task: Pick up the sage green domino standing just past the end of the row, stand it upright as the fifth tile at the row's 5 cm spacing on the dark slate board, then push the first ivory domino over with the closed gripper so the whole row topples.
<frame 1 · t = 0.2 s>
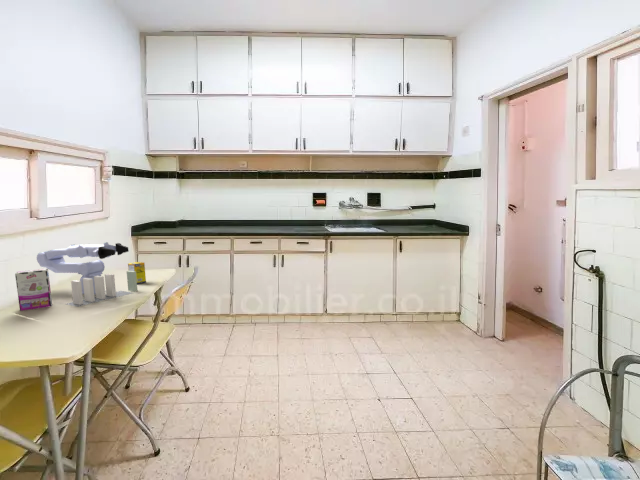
hand: (121, 250, 191), 21 cm above the table, tool horizontal, fingers open, 7 cm apart
sage domino: (132, 291, 202), on the table
ivory domino 3: (100, 298, 189), point 1 cm above the table, touching slate board
ivory domino 4: (111, 295, 193), point 1 cm above the table, touching slate board
ivory domino 1: (78, 303, 180), point 1 cm above the table, touching slate board
candy bar box: (36, 309, 177), on the table
ivory domino 2: (89, 300, 185), point 1 cm above the table, touching slate board
supplement box: (137, 283, 222), on the table
slate board: (100, 299, 189), on the table
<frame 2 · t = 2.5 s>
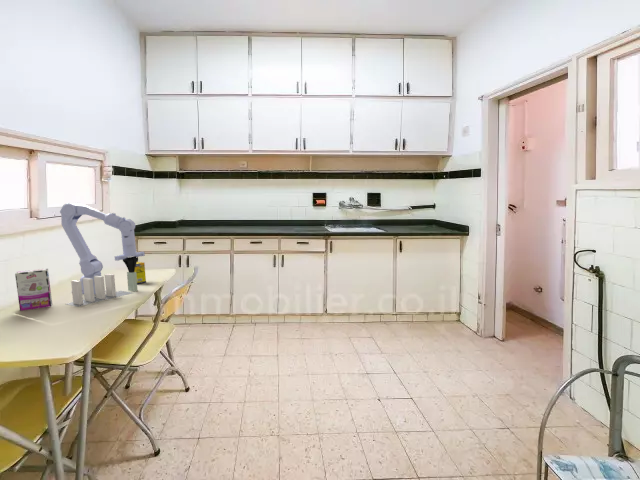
hand: (131, 272, 201), 9 cm above the table, tool pointing down, fingers closed, pressing on sage domino
sage domino: (133, 292, 202), on the table, touching gripper
everything else where it was.
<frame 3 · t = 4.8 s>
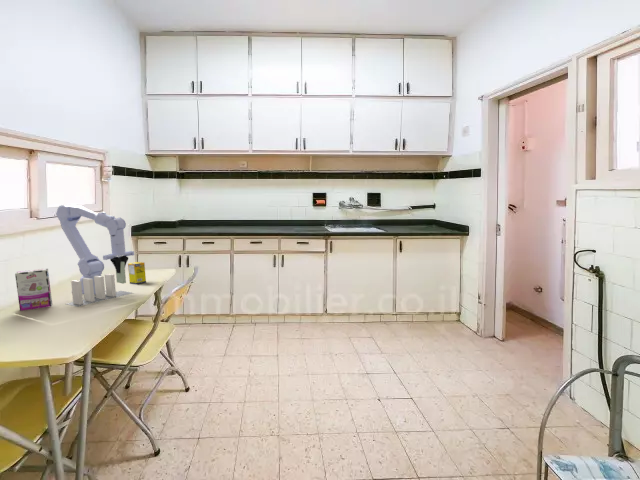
hand: (120, 272, 196), 10 cm above the table, tool pointing down, fingers closed on sage domino
sage domino: (121, 282, 197), point 6 cm above the table, touching gripper
everything else where it was.
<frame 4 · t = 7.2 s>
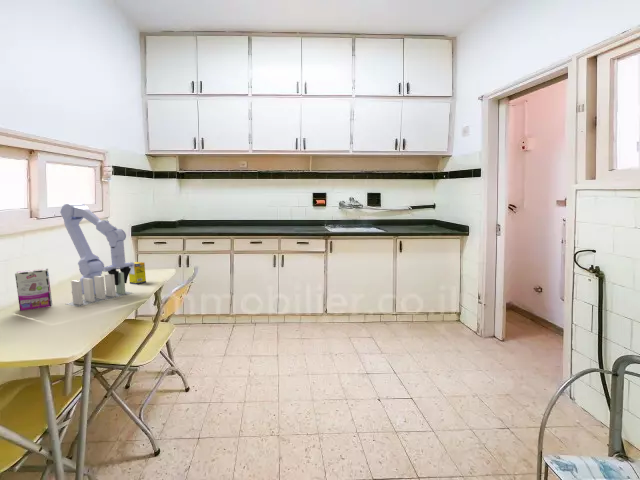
hand: (120, 284, 197), 5 cm above the table, tool pointing down, fingers open, 4 cm apart
sage domino: (120, 293, 197), point 1 cm above the table, touching slate board
everything else where it was.
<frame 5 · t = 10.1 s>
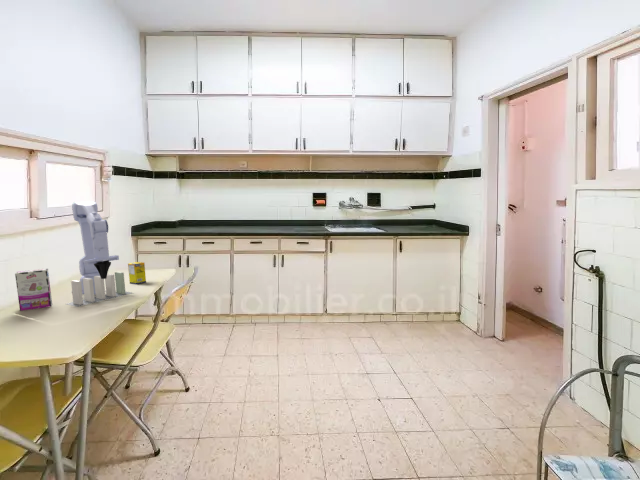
hand: (103, 278, 183), 10 cm above the table, tool pointing down, fingers closed
nothing on the table moved.
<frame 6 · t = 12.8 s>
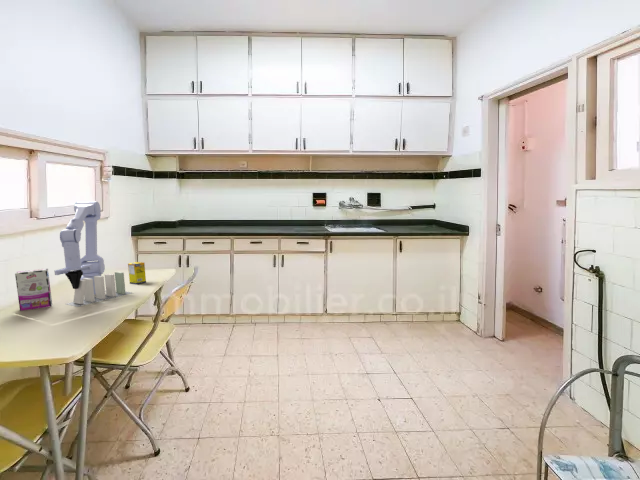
hand: (75, 288, 179), 7 cm above the table, tool pointing down, fingers closed
ivory domino 1: (78, 303, 180), point 1 cm above the table, tilted 12°, touching slate board
everything else where it was.
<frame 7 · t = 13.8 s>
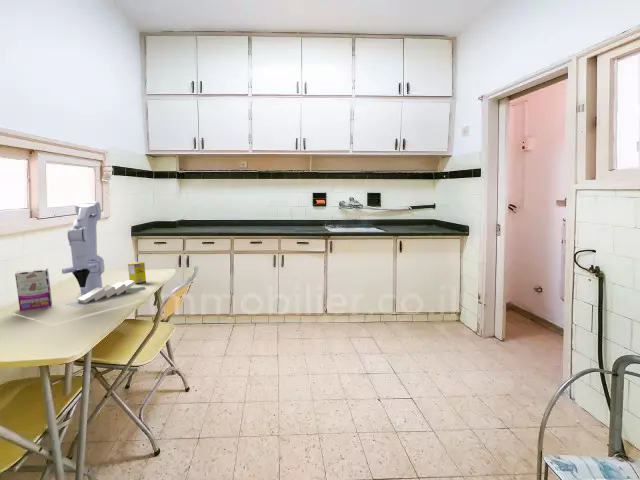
hand: (82, 286, 182), 7 cm above the table, tool pointing down, fingers closed
sage domino: (123, 290, 198), point 2 cm above the table, tilted 94°, touching ivory domino 4, slate board
ivory domino 3: (103, 295, 190), point 1 cm above the table, tilted 70°, touching ivory domino 2, ivory domino 4, slate board
ivory domino 4: (113, 293, 194), point 1 cm above the table, tilted 70°, touching ivory domino 3, sage domino
ivory domino 1: (80, 301, 181), point 1 cm above the table, tilted 71°, touching ivory domino 2
ivory domino 2: (91, 298, 185), point 1 cm above the table, tilted 72°, touching ivory domino 1, ivory domino 3, slate board
everything else where it was.
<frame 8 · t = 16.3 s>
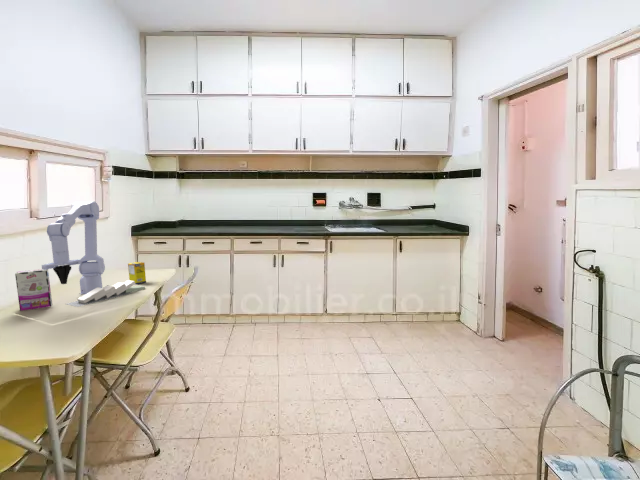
hand: (63, 283, 175), 10 cm above the table, tool pointing down, fingers closed
nothing on the table moved.
at the end: sage domino tilted 94°; ivory domino 1 tilted 71°; sage domino moved 5.1 cm from its start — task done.
